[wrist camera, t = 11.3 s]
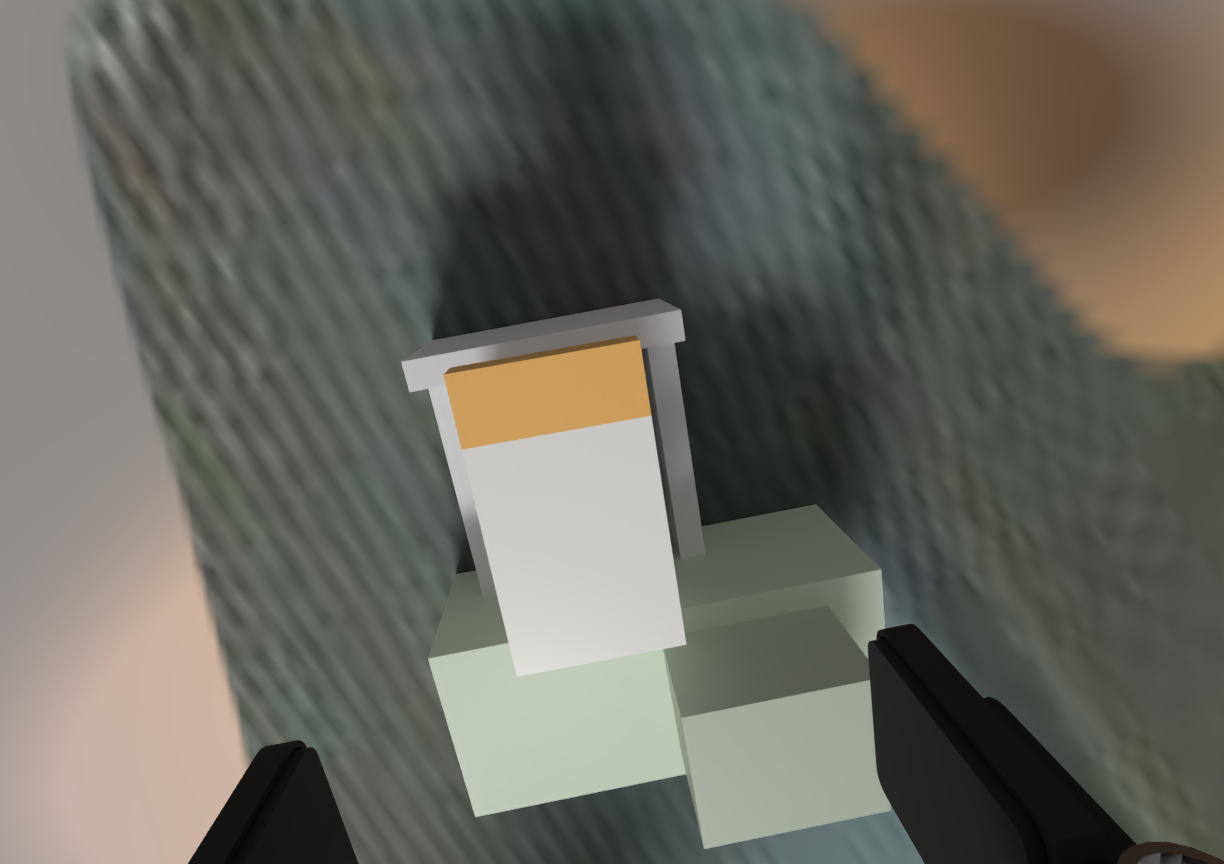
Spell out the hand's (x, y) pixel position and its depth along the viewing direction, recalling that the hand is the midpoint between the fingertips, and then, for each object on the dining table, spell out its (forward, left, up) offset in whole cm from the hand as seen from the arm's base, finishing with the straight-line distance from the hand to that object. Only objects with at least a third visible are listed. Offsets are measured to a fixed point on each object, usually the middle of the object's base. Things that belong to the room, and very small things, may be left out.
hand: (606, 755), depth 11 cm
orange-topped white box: (0, 0, -16) cm, 16 cm away
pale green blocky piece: (-2, +4, -17) cm, 17 cm away
